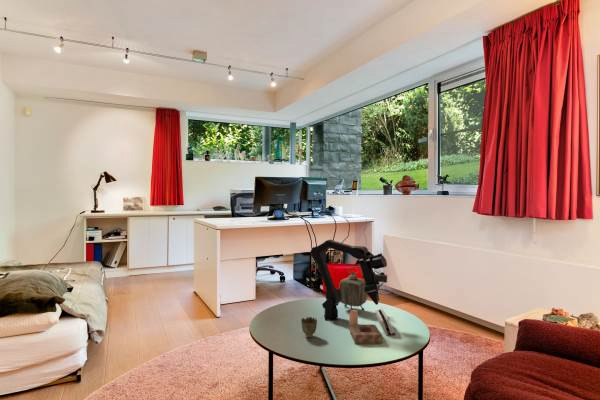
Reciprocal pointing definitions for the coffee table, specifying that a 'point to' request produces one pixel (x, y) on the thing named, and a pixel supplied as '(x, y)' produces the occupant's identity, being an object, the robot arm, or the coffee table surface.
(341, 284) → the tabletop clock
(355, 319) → the peg
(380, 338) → the hole block
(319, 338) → the coffee table surface
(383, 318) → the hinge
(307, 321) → the cup
